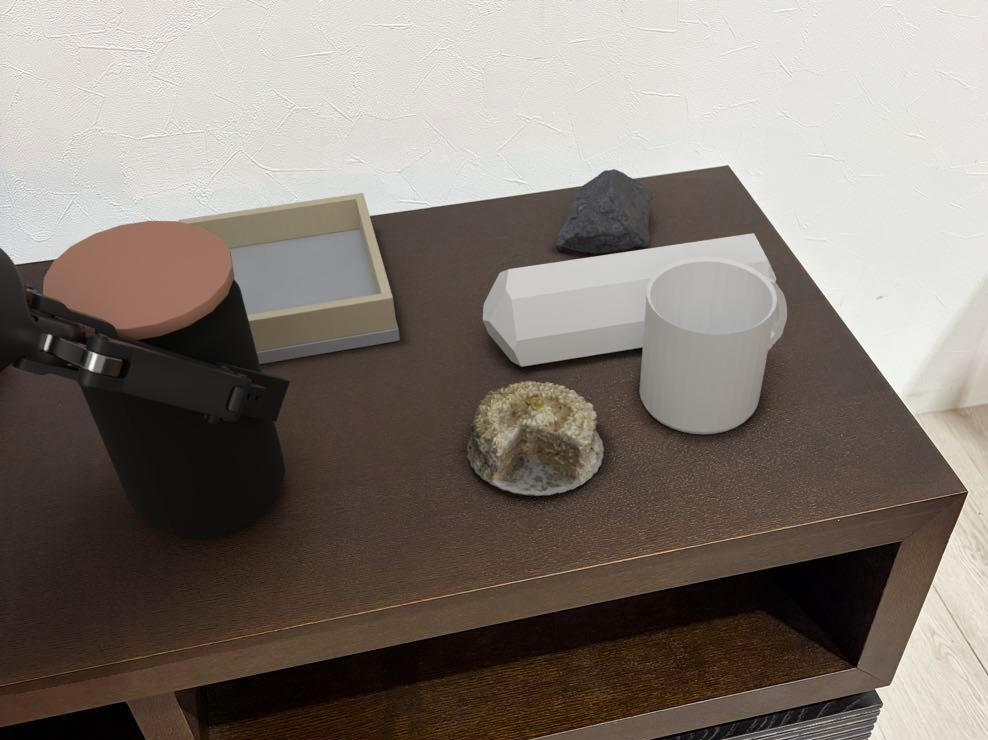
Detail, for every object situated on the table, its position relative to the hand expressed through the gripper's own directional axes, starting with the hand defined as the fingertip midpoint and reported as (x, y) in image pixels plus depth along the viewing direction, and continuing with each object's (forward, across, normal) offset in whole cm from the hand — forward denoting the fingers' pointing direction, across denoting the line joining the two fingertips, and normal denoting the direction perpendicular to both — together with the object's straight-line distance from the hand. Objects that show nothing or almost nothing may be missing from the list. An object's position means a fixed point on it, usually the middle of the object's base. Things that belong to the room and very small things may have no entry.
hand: (210, 370), depth 71 cm
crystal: (+27, +16, +14) cm, 35 cm away
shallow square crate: (+20, -10, +6) cm, 23 cm away
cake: (+16, +17, +2) cm, 23 cm away
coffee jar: (+4, 0, -8) cm, 9 cm away
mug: (+25, +26, +11) cm, 37 cm away
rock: (+35, +8, +21) cm, 42 cm away
